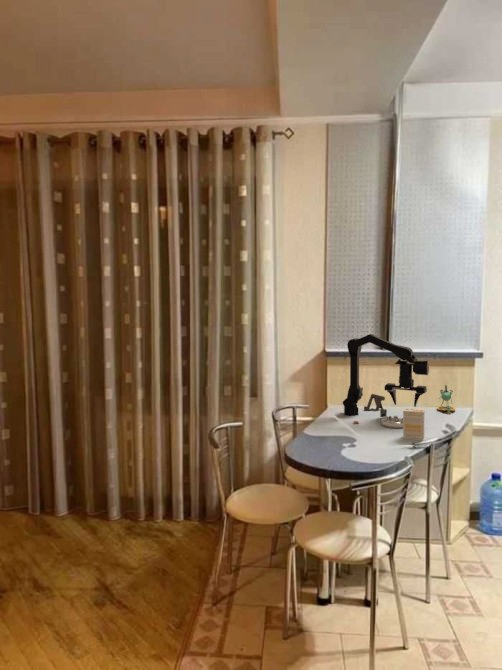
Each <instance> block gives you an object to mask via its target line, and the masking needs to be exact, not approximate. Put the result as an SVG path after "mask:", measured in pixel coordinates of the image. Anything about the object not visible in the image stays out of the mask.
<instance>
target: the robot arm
mask: <svg viewBox="0 0 502 670" xmlns="http://www.w3.org/2000/svg"><path fill="white" fill-rule="evenodd" d="M367 344H372V345H374V346H376V347H379V348H381V349H384V350H386V351H388V352H391V353H392V354H394V356H396V357H397V358H398V360H397V361H396V362H395V363H394V365H399V376H398V385H396V383H394V382H393V383H392V382H388V383H386V384H385V385H384V391H387V393H389V395H390V397H391V399H392V401H393V404H394V405H395V406H397V395H396V394H397V393H396V392H397V390H400V391H401V390H402V391H411V392H413V391H414V392H415V393H414V402H413V407H414V408H416V407H417V404H418V400H419V399H420V397H421V396H422V395H424V394H426V393H427V389H428V388H427V386H426V385H419V384H418V385H417V386H414V384H415V380H414V378H413V373H414V374H415V375H417V376H418V375H419V376H420V375H421V376H428V375H429V373H430V366H429V361H428V360H418V359H417V358H416V356H415V355H414V351H413V349H412V348H410V347H408V346H405V345H399V344H396V343H393V342H391V341H388V340H386V339H384V338H382V337H379V336H377V335H375V334H374V333H370V334H367V335H365V336H363V337H360V338H358V337H357V338H356V337H354V338H351V339H350V340H348V341H347V344H346V345H347V351H348V355H349V358H350V363H349V365H350V366H349V367H350V368H349V370H350V371H349V372H350V373H349V378H350V382H349V387H348V391H347V396H346V397H345V399H344V400H343V401H342V405H343V415H344V416H348V417H355V416H359V406H358V403H359V401H361V399H362V397H364V393H363V390H364V387H361V386H360V355H361V352H362V347H363V346H364V345H367Z"/></svg>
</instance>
